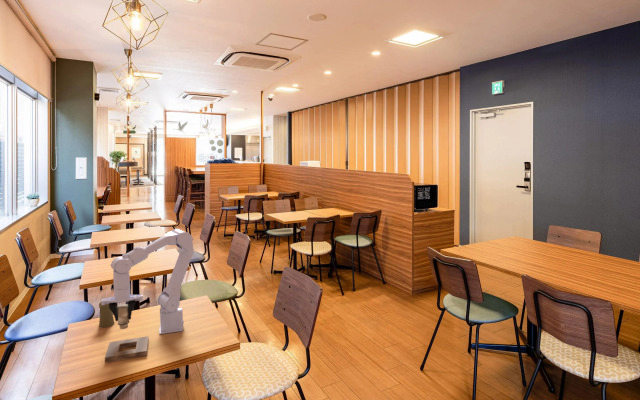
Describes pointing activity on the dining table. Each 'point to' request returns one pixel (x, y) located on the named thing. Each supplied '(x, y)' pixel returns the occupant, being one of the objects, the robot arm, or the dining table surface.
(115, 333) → the dining table surface
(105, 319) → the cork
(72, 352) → the dining table surface
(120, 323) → the ash peg
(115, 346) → the walnut board
